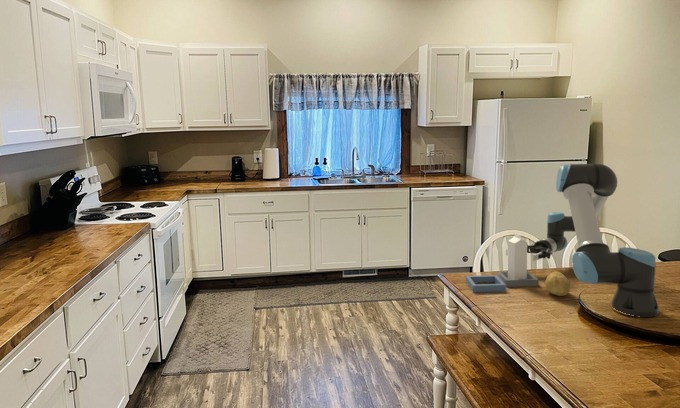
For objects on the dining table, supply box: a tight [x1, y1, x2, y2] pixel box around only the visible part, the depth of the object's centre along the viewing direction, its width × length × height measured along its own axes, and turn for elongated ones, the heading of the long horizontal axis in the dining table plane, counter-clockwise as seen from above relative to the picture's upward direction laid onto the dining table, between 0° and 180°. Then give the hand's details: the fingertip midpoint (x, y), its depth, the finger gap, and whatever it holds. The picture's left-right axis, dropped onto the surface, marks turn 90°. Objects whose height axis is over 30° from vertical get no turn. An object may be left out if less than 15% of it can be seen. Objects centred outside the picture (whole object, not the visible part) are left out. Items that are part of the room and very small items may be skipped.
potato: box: [544, 270, 571, 297], centre depth 199 cm, size 10×14×10 cm
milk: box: [507, 233, 528, 279], centre depth 216 cm, size 6×6×22 cm
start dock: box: [496, 270, 539, 288], centre depth 218 cm, size 14×14×3 cm
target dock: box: [465, 274, 507, 293], centre depth 212 cm, size 14×14×3 cm
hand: (519, 255), depth 218 cm, fingers open, 13 cm apart
